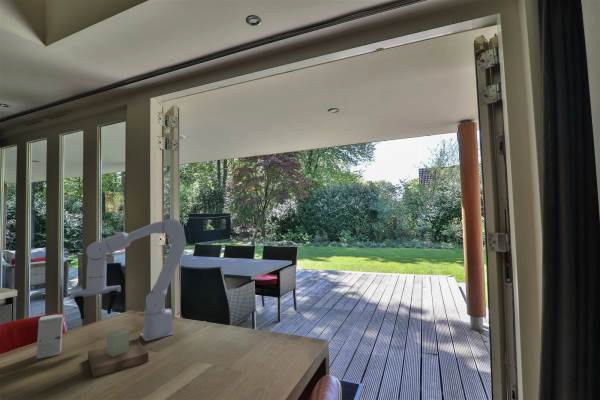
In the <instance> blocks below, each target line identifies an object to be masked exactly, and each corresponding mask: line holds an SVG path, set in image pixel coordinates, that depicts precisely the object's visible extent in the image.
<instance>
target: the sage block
mask: <svg viewBox="0 0 600 400" xmlns="http://www.w3.org/2000/svg"><path fill="white" fill-rule="evenodd" d="M129 341H130V331H128V330H126V329H124V328H121V329H117V330H114V331H110V332H107V334H106V347H107V353H108V354H109V355H111V356H112V357H114V356H117V355H120V354H123V353H125V352H128V351H129Z"/></svg>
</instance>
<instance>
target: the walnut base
mask: <svg viewBox="0 0 600 400" xmlns="http://www.w3.org/2000/svg"><path fill="white" fill-rule="evenodd" d="M87 362H88V364H89V367H90V371H91V375H92V378H97V377H101V376H103V375H104V376H105V375H107V374H110V373H113V372H117V371H120V370H124V369H127V368H130V367H134V366H136V365H140V364H143V363H147V362H149V352H148V350H147V349H146V348H145V346H144V345H143V344H142V342H141V341H140V340H139V339H138V338H136V339H133V340H129V351H128V352H125V353H123V354H120V355H117V356H114V357H112V356H111V355H109V354H108V353H107V346H105V347H101V348H97V349H93V350H89V351H87Z"/></svg>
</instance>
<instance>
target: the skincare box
mask: <svg viewBox="0 0 600 400" xmlns="http://www.w3.org/2000/svg"><path fill="white" fill-rule="evenodd" d="M63 323H64V314H63V313H60V314H51V315H44V316H43V315H42V316H40V318H39V320H38V323H37V324H38V327H37V341H36V343H37V344H36V357H35V358H36V360H39V359H43V358H49V357H54V356H58V355H61V351H62V344H63V326H64V324H63Z"/></svg>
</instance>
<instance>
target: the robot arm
mask: <svg viewBox="0 0 600 400" xmlns="http://www.w3.org/2000/svg"><path fill="white" fill-rule="evenodd" d="M163 233H165V234H166V236H167V237H168V238H169V240H170V242H171V244H172V245H171V248H170V249H169V252H168V255H166V258H165V261H164V263H163V266H162V268H161V270H160V272H159V275H158V277H157V280H156V281H155V284H154V285H153V286H152V288H151V290H150V292H149V293H148V294H147V295H146V297H145V300H144V301H145V310H144V311H143V332H142V333H140V336H141V338H142V339H143V340H144V341H145V342H148V341H153V340H156V339H161V338H164V337H168V336H171V335H174V333H173V312H172V309H171V308H165V307H166V306H165V305H166V302H165V301H166V296H167V294H168V288H169V287H170V284H171V282H172V279H173V277H174V274H175V272H176V270H177V267H178V265H179V263H180V260H181V258H182V255H183V253H184V251H185V248H186V247H187V239H186V234H185V228H184V226H183V225H182V223H181V222H180V221H179V219H175V218H168V219H166V220H161V221H156V222H153V223H151V224H148V225H145V226H144V227H141V228H138V229H136V230H134V231H131V232H129V233H127V232H125V231H116V232H115V233H114V234H113V235H110V236H108V237H105V238H104V237H102V238H100V239H99V240H100V241H99V240H98V241H94V242H92V243H90V244H89V245H88V246H87V248H86V251H85V253H86V256H87V260H86V261H87V264H86V288H85V289H80V290H74V291H70V292H69V300H74V302H75V304H76V306H77V308H78V310H79V315H80V320H84V319H85V311H84V309H85V308H84V304H85V299H84V297H89V296H95V295H103V294H107V308H106V312H107V313H106V314H108V315H111V312H112V307H113V305H114V303H115V300H116V299H117V297H118V295H119V292H122V287H121V285H119V284H118V285H110V286H109V285H108V286H107V268H108V267H107V265H108V262H107V254H113V253H115V252H118V251H120V250H123V249H125V248H128V247H129V246H130V245H131V243H132V242H133V241H136V240H138V239H141V238H144V237H147V236H150V235H153V234H163Z"/></svg>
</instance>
